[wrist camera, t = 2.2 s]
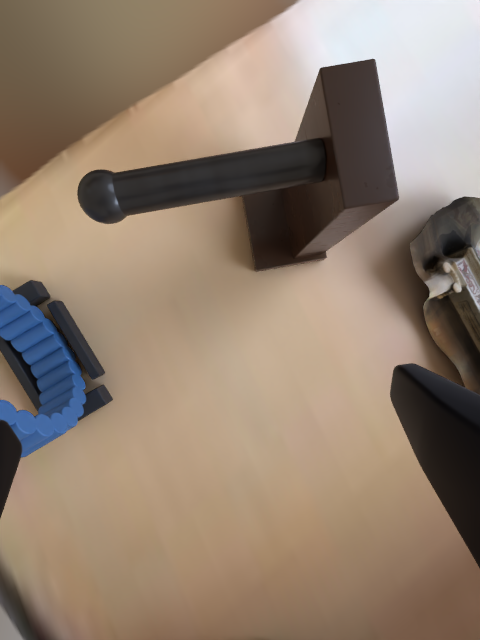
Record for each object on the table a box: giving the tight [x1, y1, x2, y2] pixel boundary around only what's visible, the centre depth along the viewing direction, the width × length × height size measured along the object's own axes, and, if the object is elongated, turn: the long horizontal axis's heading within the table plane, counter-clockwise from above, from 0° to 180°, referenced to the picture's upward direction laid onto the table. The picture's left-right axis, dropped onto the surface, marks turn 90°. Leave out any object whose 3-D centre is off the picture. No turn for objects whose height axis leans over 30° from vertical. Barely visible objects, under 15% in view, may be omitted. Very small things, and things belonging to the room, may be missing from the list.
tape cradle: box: [0, 280, 113, 421], centre depth 21 cm, size 9×5×1 cm, turn 31°
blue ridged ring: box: [0, 285, 86, 457], centre depth 17 cm, size 9×2×9 cm, turn 31°
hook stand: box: [77, 59, 399, 272], centre depth 17 cm, size 12×6×11 cm, turn 100°
